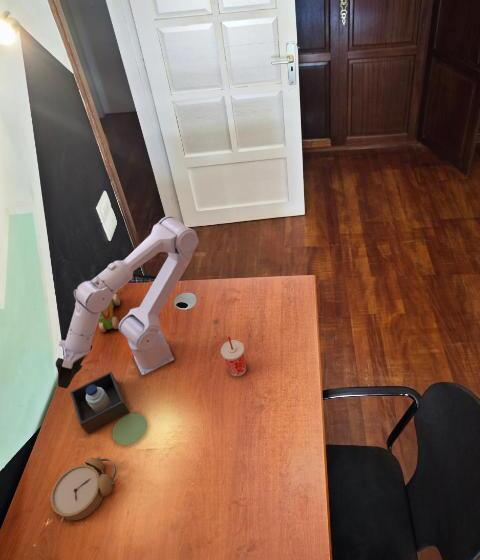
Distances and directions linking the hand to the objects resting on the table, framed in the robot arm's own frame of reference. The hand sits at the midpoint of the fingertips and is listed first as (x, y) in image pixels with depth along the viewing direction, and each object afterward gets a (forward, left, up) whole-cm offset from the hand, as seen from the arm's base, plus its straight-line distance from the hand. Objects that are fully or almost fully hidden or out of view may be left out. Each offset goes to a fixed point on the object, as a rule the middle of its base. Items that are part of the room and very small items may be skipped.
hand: (67, 378), depth 117 cm
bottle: (-3, +2, -13) cm, 14 cm away
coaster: (-7, +13, -14) cm, 20 cm away
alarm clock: (+6, +22, -14) cm, 26 cm away
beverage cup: (-38, +12, -14) cm, 43 cm away
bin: (-3, +2, -14) cm, 14 cm away
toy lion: (-14, -27, -14) cm, 34 cm away
